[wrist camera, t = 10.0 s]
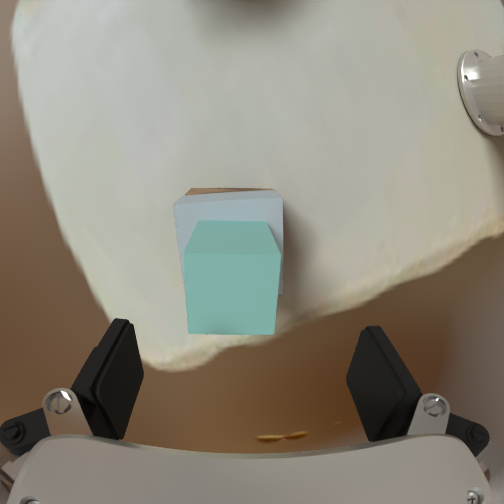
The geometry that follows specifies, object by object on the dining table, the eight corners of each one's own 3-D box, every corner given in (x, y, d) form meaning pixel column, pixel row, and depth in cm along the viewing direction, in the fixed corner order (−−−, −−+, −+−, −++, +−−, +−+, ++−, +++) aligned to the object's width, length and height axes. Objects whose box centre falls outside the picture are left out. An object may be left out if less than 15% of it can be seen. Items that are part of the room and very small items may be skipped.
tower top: (275, 189, 25) (282, 197, 21) (276, 274, 27) (283, 294, 24) (182, 195, 24) (173, 204, 21) (192, 280, 27) (186, 300, 23)
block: (266, 221, 22) (281, 254, 15) (262, 282, 23) (273, 334, 17) (198, 220, 21) (183, 252, 15) (200, 281, 23) (188, 333, 16)
